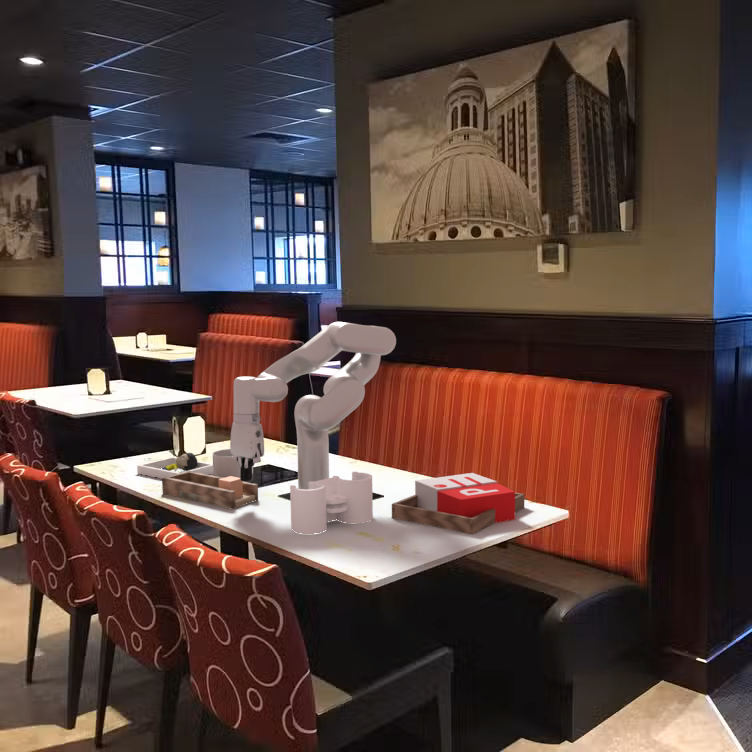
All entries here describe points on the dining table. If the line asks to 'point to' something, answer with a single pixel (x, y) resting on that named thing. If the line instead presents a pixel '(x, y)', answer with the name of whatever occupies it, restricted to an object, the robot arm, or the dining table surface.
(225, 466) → the planter
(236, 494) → the block
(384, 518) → the dining table surface
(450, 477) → the red and white box
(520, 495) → the logo tray
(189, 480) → the long wooden tray
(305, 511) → the bracket
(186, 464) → the toy
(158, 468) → the toy tray
